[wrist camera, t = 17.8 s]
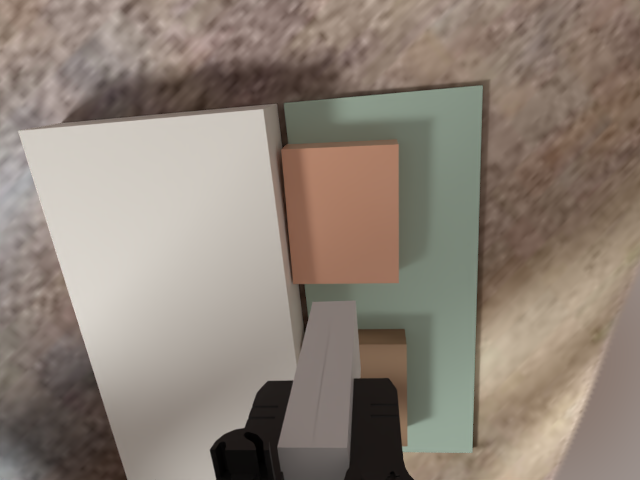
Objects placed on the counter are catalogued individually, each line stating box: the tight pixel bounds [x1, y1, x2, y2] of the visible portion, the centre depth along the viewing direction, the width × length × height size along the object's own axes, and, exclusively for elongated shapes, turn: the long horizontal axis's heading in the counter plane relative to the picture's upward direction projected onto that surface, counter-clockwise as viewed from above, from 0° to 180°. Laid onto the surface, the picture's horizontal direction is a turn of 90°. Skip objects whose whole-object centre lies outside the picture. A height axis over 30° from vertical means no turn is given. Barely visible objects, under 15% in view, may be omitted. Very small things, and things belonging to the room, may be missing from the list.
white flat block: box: [18, 104, 305, 480], centre depth 33 cm, size 28×15×4 cm, turn 5°
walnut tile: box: [358, 329, 408, 446], centre depth 34 cm, size 9×7×2 cm
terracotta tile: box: [281, 139, 399, 284], centre depth 30 cm, size 9×7×2 cm
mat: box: [284, 85, 483, 453], centre depth 33 cm, size 28×12×1 cm, turn 5°
